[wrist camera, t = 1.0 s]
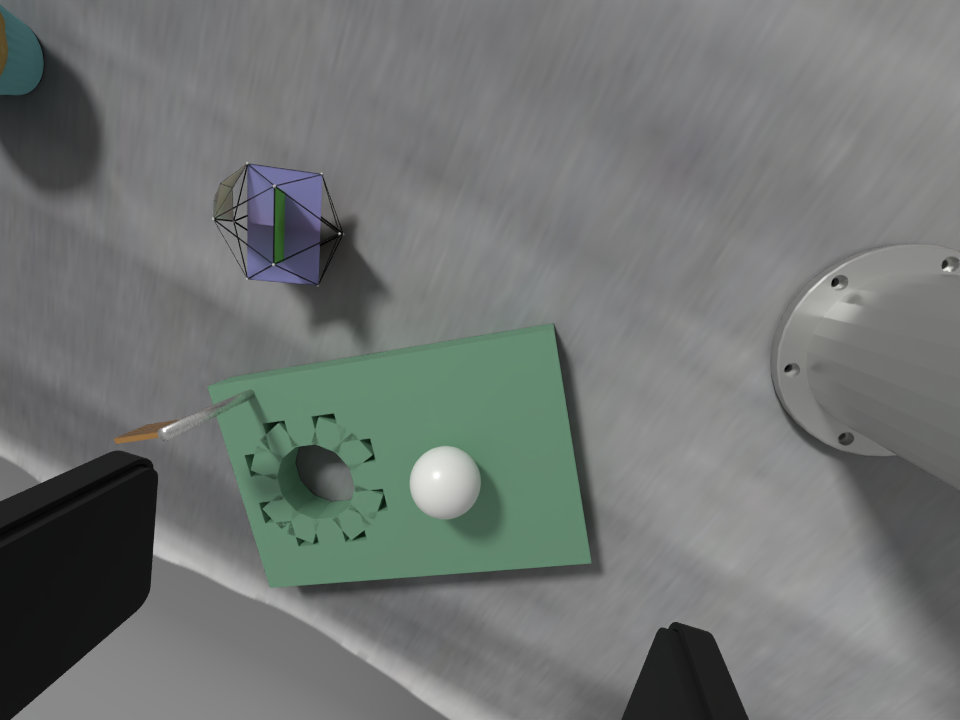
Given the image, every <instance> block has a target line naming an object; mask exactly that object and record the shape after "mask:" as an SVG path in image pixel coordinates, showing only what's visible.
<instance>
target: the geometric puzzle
mask: <svg viewBox="0 0 960 720" xmlns="http://www.w3.org/2000/svg"><path fill="white" fill-rule="evenodd" d="M245 167H246V170H245V174H244V179H245V175H246V171H247V167H248V200H246V201H244V202H243V203H245V202H247V201H248V215H246V216H243V217H241V218H239V219H236V220H235V216H236V212H237V208H238V206H240V205H241V204H243V203H241V204H239V200H240V196H241V191H242V187H243V183H244V179H243V183H242V187H241V191H240V195H239V199H238V203H237V206H235V207H233V191H232V187H234V185H235V183H236V182H237V179H239V177H240V175H241V174H242V172H243V171H244V169H245ZM322 177H323V173H320V174H318V173H311V172H304V171H297V170H290V169H283V168H276V167H269V166H262V165H255V164H249V163H248V162H246V165H245V166H243V167H242V168H241V169H239V170H238V171H237V172H235V173H234V174H232V175H231V176H230V177H228V178H227V179H226V180H224V181H223V182H222V183H220V185H219V188H218V190H217V192H216V194H215V197H214V199H213V218H212V220H213V221H214V222H215V221H216V220H222V221H231V222H233V223H234V226H235V223H236V224H237V225H239V226H240V227H242V228H244V229H245V230H247V231H248V244H247V243H245V242H244V241H243V240H241V239H240V238H239V237H238V234H237V230H236V226H235V230H236V234H237V236H236V235H235V234H233V233H232V232H231V231H229V230H228V229H227V228H226V227H224V226H223V225H222V224H220V223H219V222H218V221H216V222H217V223H218V224H220V225H221V226H222V227H224V228H225V229H226V230H228V231H229V232H230V233H232V234H233V235H234V236H235V237H237V239H238V243H239V240H241V241H242V242H243V243H245V244H246V245H247V246H248V276H247V272H246V268H245V263H244V259H243V255H242V251H241V247H240V243H239V247H240V251H241V255H242V259H243V263H244V268H245V272H246V275H245V276H247V277H246V280H249V279H250V280H261V281H272V282H284V283H295V284H306V285H317V287H319V283H320V281H321V279H322V277H323V275H324V273H325V271H326V269H327V267H328V265H329V263H330V261H331V259H332V257H333V255H334V253H333V255H332V257H331V259H330V257H329V259H330V261H329V259H328V261H329V263H328V261H327V264H328V265H327V264H326V266H327V267H326V266H325V268H326V269H324V271H323V274H322V276H321V279H320V281H319V254H320V246H322V245H324V244H326V243H328V242H330V241H332V240H334V239H336V238H337V239H338V237H340V236H341V238H342V236H343V235H345V234H344V233H343V231H342V232H341V231H340V230H339V229H337V228H338V226H337V228H336V227H334V226H333V225H332V224H331V223H329V222H328V221H327V220H325V219H324V218H323V217H321V195H322ZM323 181H324V178H323ZM324 184H325V188H326V191H328V189H327V186H326V183H325V181H324ZM327 194H329V192H327ZM329 196H330V195H328V198H329ZM330 199H331V197H330ZM330 199H329V201H330ZM331 202H332V200H331ZM331 202H330V205H331ZM238 204H239V205H238ZM332 205H333V203H332ZM332 205H331V208H332ZM236 207H237V208H236ZM234 208H236V212H235V216H234V220H233V209H234ZM333 208H334V206H333ZM332 211H333V209H332ZM334 211H335V209H334ZM335 213H336V212H335ZM333 215H334V212H333ZM247 216H248V229H246V228H245V227H243V226H241V225H240V224H238V223H237V222H235V221H238V220H240V219H242V218H245V217H247ZM336 216H337V214H336ZM321 218H322V219H323V220H324V221H326V222H327V223H328V224H329V225H328V224H327V223H326V222H324V221H323V220H322V219H321ZM334 218H335V215H334ZM337 219H338V217H337ZM321 221H322V222H323V223H325V224H326V225H327V226H329V227H330V228H331V229H333V230H334V231H336V232H337V233H338V234H336V235H334V236H331V237H329V238H327V239H325V240H323V241H321V242H320V224H321ZM335 221H336V219H335ZM216 222H215V223H216ZM338 222H339V220H338ZM216 225H217V224H216ZM330 225H331V226H332V227H331V226H330ZM336 225H337V222H336ZM339 225H340V223H339ZM217 227H218V226H217ZM340 227H341V226H340ZM334 228H335V229H336V230H335V229H334ZM218 229H219V228H218ZM219 230H220V229H219ZM341 230H342V228H341ZM220 232H221V231H220ZM221 234H222V233H221ZM337 235H338V236H337ZM222 236H223V235H222ZM335 236H336V237H335ZM223 237H224V236H223ZM333 237H334V238H333ZM331 238H332V239H331ZM341 238H340V240H341ZM224 239H225V238H224ZM329 239H330V240H329ZM337 239H336V242H337ZM327 240H328V241H327ZM225 241H226V240H225ZM325 241H326V242H325ZM323 242H324V243H323ZM336 242H335V244H336ZM339 242H340V241H339ZM226 243H227V242H226ZM320 243H322V244H320ZM227 244H228V243H227ZM335 244H334V247H335ZM338 244H339V243H338ZM228 246H229V245H228ZM337 246H338V245H337ZM334 247H333V249H334ZM229 248H230V247H229ZM336 248H337V247H336ZM333 249H332V251H333ZM230 250H231V249H230ZM335 250H336V249H335ZM231 251H232V250H231ZM334 252H335V251H334ZM232 253H233V252H232ZM331 254H332V252H331ZM331 254H330V256H331ZM233 255H234V254H233ZM234 257H235V256H234ZM235 258H236V257H235ZM236 260H237V259H236ZM237 262H238V261H237ZM238 264H239V263H238ZM239 265H240V264H239ZM240 267H241V266H240ZM241 269H242V268H241ZM242 271H243V270H242ZM243 272H244V271H243ZM244 274H245V273H244Z"/></svg>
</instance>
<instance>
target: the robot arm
mask: <svg viewBox="0 0 960 720" xmlns="http://www.w3.org/2000/svg"><path fill="white" fill-rule="evenodd" d="M833 278H834V280H835V282H834V284H833V285H832V286H831V282H832V280H833ZM787 365H789V368H788V369H787V370H785V371H784V369H785V367H786V366H787ZM771 374H772V378H773V382H774V387H775V391H776V393H777V395H778V397H779V399H780V401H781V403H782V405H783V407H784V409H785V410H786V411H787V412H788V414H789V415H790V416H791V417H792V419H793V420H794V421H795V422H796V423H797V424H798V425H800V426H801V427H802V428H803V429H804V430H806V431H807V432H808V433H809V434H811V435H812V436H814V437H816V438H817V439H819V440H820V441H822V442H823V443H825V444H827V445H830V446H832V447H834V448H836V449H838V450H841V451H845V452H849V453H854V454H858V455H863V456H878V457H889V456H900V457H901V458H903V459H905V460H906V461H908V462H910V463H912V464H913V465H915V466H917V467H919V468H920V469H922V470H924V471H925V472H927V473H929V474H931V475H932V476H934V477H936V478H938V479H939V480H941V481H943V482H945V483H946V484H948V485H950V486H951V487H953V488H955V489H957V490H958V491H960V251H956V250H953V249H949V248H946V247H942V246H934V245H923V244H903V245H890V246H885V247H879V248H873V249H869V250H866V251H863V252H861V253H858V254H855V255H852V256H849V257H847V258H845V259H843V260H841V261H840V262H838V263H836V264H834V265H832V266H830V267H828V268H827V269H826V270H824V271H823V272H822V273H820V274H819V275H818V276H817V277H815V278H814V279H813V280H811V281H810V282H809V283H808V284H807V285H806V286H805V287H804V288H803V289H802V290H801V292H800V293H799V294H798V295H797V296H796V297H795V298H794V299H793V301H792V302H791V304H790V306H789V307H788V309H787V310H786V312H785V313H784V315H783V316H782V319H781V321H780V324H779V326H778V329H777V331H776V334H775V336H774V342H773V347H772V352H771ZM157 486H158V474H157V472H156V471H155V470H154V469H153V464H152V462H151V461H150V460H148V459H146V458H143V457H140V456H137V455H133V454H130V453H127V452H124V451H113V452H109V453H107V454H105V455H103V456H101V457H98V458H96V459H94V460H92V461H89V462H87V463H85V464H83V465H81V466H78V467H76V468H74V469H72V470H69V471H67V472H65V473H63V474H60V475H58V476H56V477H54V478H52V479H49V480H47V481H45V482H43V483H40V484H38V485H36V486H34V487H32V488H29V489H27V490H25V491H23V492H20V493H18V494H16V495H14V496H11V497H9V498H7V499H5V500H3V501H0V720H11V719H12V718H13V717H14V716H15V715H16V714H18V713H19V712H20V711H21V710H22V709H23V708H24V707H26V706H27V705H28V704H29V703H30V702H32V701H33V700H34V699H35V698H36V697H37V696H38V695H40V694H41V693H42V692H43V691H44V690H45V689H47V687H49V686H50V685H51V684H52V683H54V682H55V681H56V680H57V679H58V678H59V677H61V676H62V675H63V674H64V673H65V672H66V671H68V670H69V669H70V668H71V667H72V666H73V665H75V664H76V663H77V662H78V661H79V660H80V659H82V658H83V657H84V656H85V655H86V654H87V653H88V652H90V651H91V650H92V649H93V648H94V647H95V646H97V645H98V644H99V643H100V642H101V641H102V640H103V639H105V638H106V637H107V636H108V635H109V634H110V633H112V632H113V631H114V630H115V629H116V628H118V627H119V626H120V625H121V624H122V623H123V622H124V621H126V620H127V619H128V618H129V617H130V616H131V615H132V614H134V613H135V612H136V611H137V610H138V609H139V608H140V607H141V606H142V605H143V603H144V602H145V600H146V598H147V596H148V594H149V591H150V586H151V585H150V584H151V570H152V557H153V543H154V529H155V514H156V500H157ZM622 720H749V719H748V716H747V714H746V712H745V709H744V707H743V705H742V702H741V700H740V698H739V695H738V693H737V690H736V688H735V686H734V683H733V681H732V679H731V676H730V674H729V671H728V669H727V667H726V664H725V662H724V660H723V657H722V655H721V653H720V650H719V648H718V645H717V643H716V641H715V639H714V637H713V635H712V634H711V633H709V632H707V631H704V630H701V629H698V628H694V627H691V626H688V625H685V624H681V623H678V622H673V623H672V624H671V625H670V626H669V628H668V629H666V628H660V629H659V630H658V631H657V633H656V636H655V638H654V641H653V643H652V646H651V648H650V650H649V653H648V655H647V658H646V660H645V663H644V665H643V668H642V670H641V673H640V675H639V678H638V680H637V683H636V685H635V687H634V690H633V692H632V695H631V697H630V700H629V702H628V705H627V707H626V710H625V712H624V715H623V717H622Z"/></svg>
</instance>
